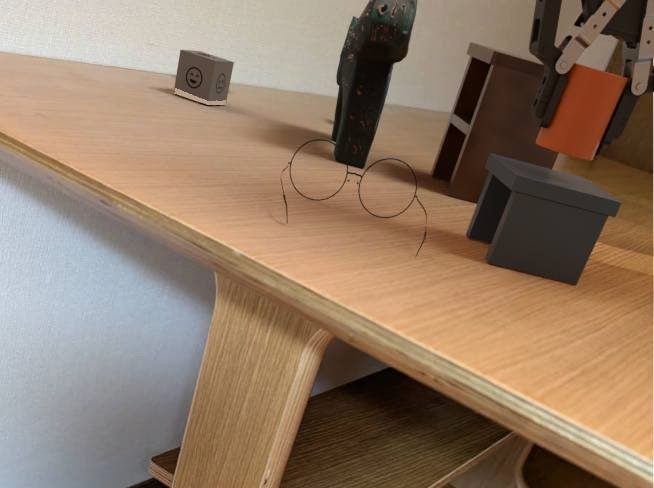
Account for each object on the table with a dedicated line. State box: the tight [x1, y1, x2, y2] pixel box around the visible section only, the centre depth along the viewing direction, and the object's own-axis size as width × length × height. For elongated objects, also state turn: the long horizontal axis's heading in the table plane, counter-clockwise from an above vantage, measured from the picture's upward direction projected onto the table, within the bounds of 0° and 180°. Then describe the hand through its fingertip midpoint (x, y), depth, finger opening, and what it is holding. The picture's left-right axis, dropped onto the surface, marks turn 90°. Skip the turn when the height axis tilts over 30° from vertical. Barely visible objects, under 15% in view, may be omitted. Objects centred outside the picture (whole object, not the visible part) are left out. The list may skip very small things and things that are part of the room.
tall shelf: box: [429, 41, 560, 204], centre depth 91 cm, size 11×11×14 cm
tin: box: [536, 62, 628, 161], centre depth 65 cm, size 5×5×6 cm
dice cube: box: [173, 49, 235, 102], centre depth 103 cm, size 5×5×5 cm
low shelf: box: [465, 153, 623, 286], centre depth 70 cm, size 9×9×7 cm
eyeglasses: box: [280, 138, 428, 258], centre depth 67 cm, size 11×13×5 cm
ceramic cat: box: [330, 0, 418, 169], centre depth 92 cm, size 20×6×20 cm, turn 176°
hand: (571, 133), depth 66 cm, fingers closed on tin, 4 cm apart
